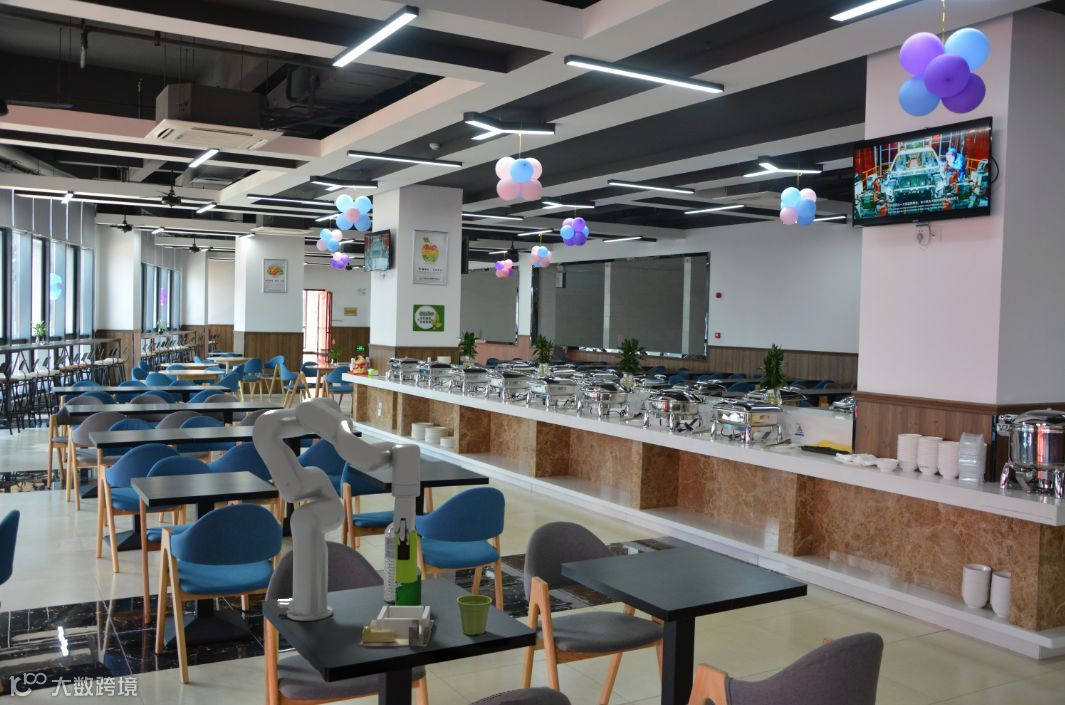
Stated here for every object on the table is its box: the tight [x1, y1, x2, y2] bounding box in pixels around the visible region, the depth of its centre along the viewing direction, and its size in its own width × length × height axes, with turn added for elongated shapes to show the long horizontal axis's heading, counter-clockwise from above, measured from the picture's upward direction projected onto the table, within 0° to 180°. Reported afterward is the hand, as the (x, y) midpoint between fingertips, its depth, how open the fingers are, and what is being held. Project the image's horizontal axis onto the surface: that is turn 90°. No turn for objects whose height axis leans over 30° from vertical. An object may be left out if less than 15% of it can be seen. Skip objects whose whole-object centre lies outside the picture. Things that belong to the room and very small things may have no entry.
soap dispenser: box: [395, 529, 418, 583], centre depth 228 cm, size 6×7×20 cm
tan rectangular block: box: [361, 625, 395, 642], centre depth 216 cm, size 8×2×3 cm, turn 92°
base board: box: [359, 619, 435, 647], centre depth 224 cm, size 17×21×5 cm
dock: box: [376, 605, 431, 635], centre depth 228 cm, size 13×12×4 cm
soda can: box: [394, 565, 423, 606], centre depth 246 cm, size 8×8×12 cm
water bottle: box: [383, 516, 395, 603], centre depth 255 cm, size 7×7×25 cm
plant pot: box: [456, 594, 493, 636], centre depth 227 cm, size 9×9×9 cm
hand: (405, 556), depth 228 cm, fingers closed on soap dispenser, 6 cm apart
